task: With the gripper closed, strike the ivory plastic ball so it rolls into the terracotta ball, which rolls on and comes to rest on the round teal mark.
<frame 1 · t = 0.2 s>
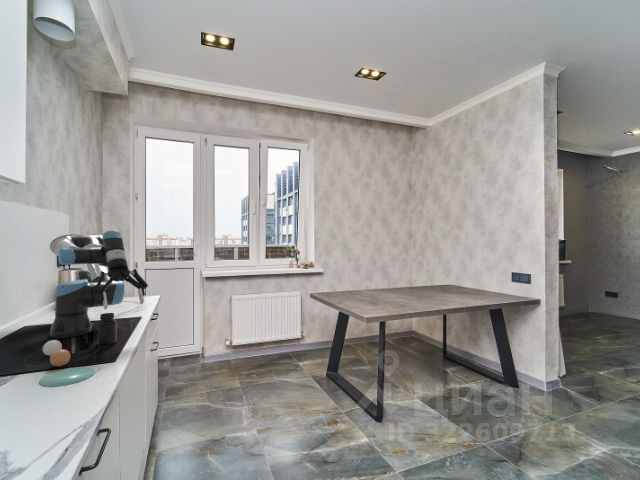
hand: (124, 305, 137), 15 cm above the countertop, tool tilted 35°, fingers open, 13 cm apart
supplement bottle: (106, 343, 135), on the countertop
object ball: (60, 357, 111), on the countertop
cue ball: (52, 347, 121), on the countertop
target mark: (68, 376, 103), on the countertop
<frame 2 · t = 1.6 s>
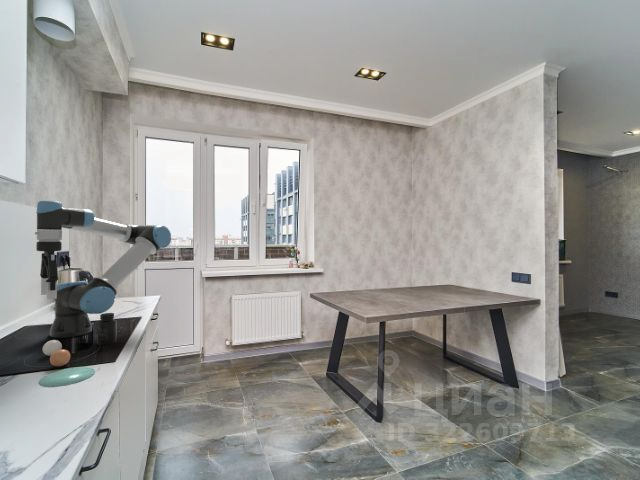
hand: (48, 296, 127), 20 cm above the countertop, tool pointing down, fingers open, 12 cm apart
nothing on the countertop moved.
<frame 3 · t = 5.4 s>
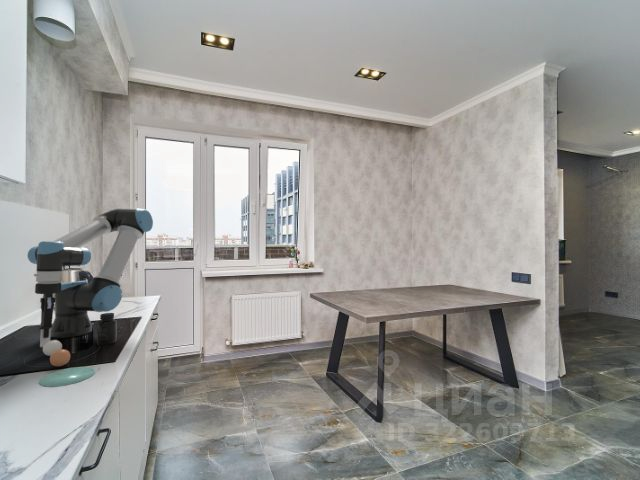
hand: (44, 346, 121), 3 cm above the countertop, tool pointing down, fingers closed
cue ball: (52, 347, 120), on the countertop, touching gripper
everything else where it was.
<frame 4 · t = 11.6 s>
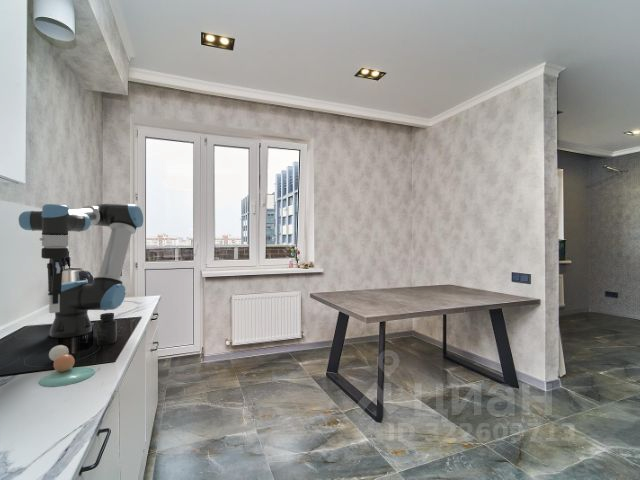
hand: (54, 312, 118), 16 cm above the countertop, tool pointing down, fingers closed
object ball: (64, 363, 107), on the countertop
cue ball: (58, 353, 115), on the countertop
everything else where it was.
at the end: object ball 5.6 cm from the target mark (horizontally); object ball never touched the robot; cue ball first touched object ball at 5.8 s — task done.
